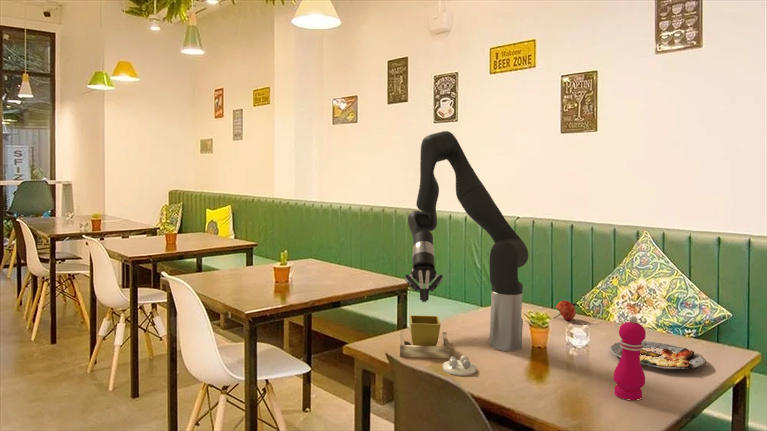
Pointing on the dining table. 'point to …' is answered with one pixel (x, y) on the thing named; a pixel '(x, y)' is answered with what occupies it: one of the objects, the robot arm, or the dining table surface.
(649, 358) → the food plate
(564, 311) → the pomegranate
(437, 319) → the flower pot
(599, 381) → the dining table surface
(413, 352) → the beech tray
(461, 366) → the pebble dish
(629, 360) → the pepper mill
